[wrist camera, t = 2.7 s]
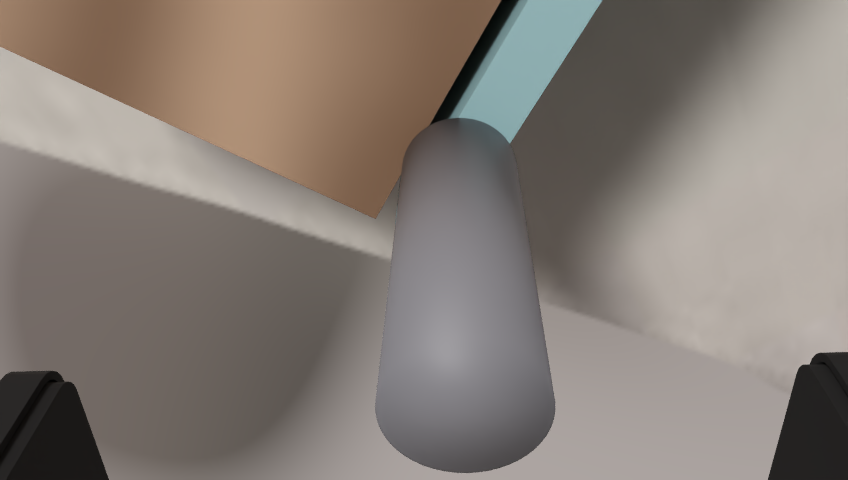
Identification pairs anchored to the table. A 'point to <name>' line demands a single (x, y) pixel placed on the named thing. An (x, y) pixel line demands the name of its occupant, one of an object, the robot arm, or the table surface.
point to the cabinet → (268, 74)
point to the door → (473, 260)
